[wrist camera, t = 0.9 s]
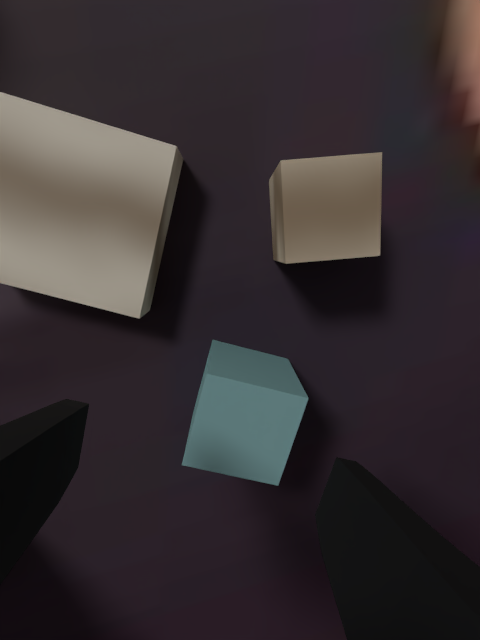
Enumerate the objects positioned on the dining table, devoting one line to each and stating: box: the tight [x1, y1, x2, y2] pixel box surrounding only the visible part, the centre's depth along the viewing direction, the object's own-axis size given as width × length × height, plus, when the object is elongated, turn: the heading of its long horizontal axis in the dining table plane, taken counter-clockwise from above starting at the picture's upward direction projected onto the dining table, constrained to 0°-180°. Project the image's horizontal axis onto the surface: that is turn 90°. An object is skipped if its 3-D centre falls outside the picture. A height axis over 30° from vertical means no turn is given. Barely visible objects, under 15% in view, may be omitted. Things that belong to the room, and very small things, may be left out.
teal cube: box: [182, 340, 308, 486], centre depth 16 cm, size 4×4×5 cm
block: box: [269, 152, 382, 264], centre depth 15 cm, size 4×4×4 cm
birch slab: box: [0, 92, 183, 319], centre depth 16 cm, size 8×8×2 cm
